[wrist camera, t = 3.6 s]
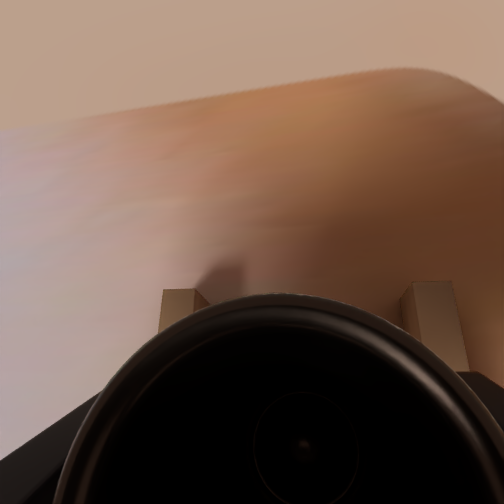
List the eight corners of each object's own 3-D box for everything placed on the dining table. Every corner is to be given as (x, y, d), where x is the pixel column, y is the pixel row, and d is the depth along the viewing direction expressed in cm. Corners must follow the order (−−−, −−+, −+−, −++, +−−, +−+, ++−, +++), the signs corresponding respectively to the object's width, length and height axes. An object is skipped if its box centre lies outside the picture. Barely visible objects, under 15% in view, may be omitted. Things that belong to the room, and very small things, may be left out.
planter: (216, 421, 13) (-17, 439, 4) (320, 350, 14) (330, 216, 4) (287, 559, 11) (156, 1207, 2) (405, 473, 12) (739, 693, 2)
